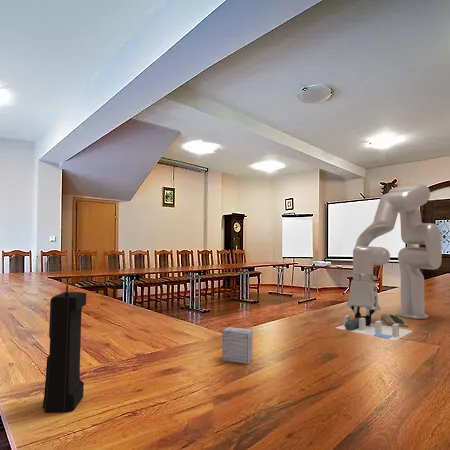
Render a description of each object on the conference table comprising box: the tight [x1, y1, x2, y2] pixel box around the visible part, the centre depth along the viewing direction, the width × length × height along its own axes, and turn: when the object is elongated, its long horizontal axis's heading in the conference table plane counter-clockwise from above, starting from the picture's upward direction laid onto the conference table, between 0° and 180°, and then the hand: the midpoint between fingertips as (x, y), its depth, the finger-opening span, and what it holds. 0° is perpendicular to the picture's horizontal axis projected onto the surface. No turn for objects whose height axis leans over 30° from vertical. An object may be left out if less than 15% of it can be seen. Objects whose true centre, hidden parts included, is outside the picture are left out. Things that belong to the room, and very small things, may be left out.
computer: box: [380, 313, 410, 328], centre depth 143 cm, size 16×8×3 cm, turn 164°
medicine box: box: [221, 326, 254, 365], centre depth 99 cm, size 8×4×9 cm, turn 71°
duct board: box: [335, 314, 413, 341], centre depth 131 cm, size 18×22×5 cm
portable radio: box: [42, 283, 87, 413], centre depth 72 cm, size 8×6×25 cm
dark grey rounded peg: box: [345, 315, 366, 330], centre depth 134 cm, size 14×3×3 cm, turn 135°
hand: (363, 323), depth 138 cm, fingers closed on dark grey rounded peg, 3 cm apart
